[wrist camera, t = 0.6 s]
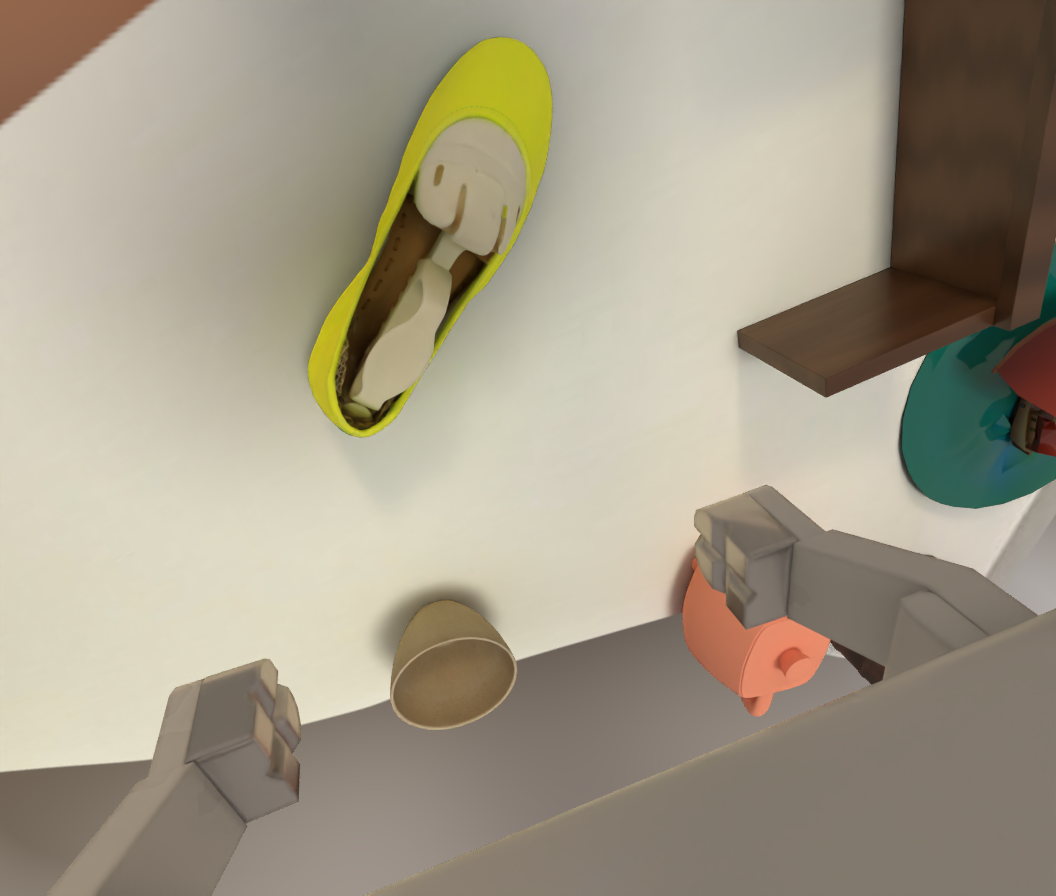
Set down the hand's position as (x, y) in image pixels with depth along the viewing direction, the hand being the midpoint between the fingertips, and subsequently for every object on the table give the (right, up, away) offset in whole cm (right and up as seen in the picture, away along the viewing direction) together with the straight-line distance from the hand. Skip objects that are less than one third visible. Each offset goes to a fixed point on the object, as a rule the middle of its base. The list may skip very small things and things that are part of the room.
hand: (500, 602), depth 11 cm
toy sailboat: (+49, +10, +49) cm, 70 cm away
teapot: (+20, -10, +50) cm, 55 cm away
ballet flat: (-6, +16, +27) cm, 31 cm away
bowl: (-7, -12, +42) cm, 44 cm away
